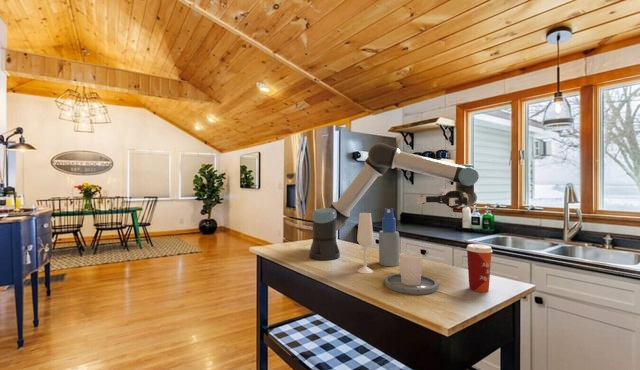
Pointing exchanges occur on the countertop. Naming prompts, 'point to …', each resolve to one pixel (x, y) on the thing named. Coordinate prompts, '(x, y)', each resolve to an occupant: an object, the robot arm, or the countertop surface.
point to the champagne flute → (365, 237)
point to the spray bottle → (389, 240)
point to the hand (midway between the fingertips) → (433, 201)
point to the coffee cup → (479, 266)
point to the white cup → (411, 268)
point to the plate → (425, 287)
